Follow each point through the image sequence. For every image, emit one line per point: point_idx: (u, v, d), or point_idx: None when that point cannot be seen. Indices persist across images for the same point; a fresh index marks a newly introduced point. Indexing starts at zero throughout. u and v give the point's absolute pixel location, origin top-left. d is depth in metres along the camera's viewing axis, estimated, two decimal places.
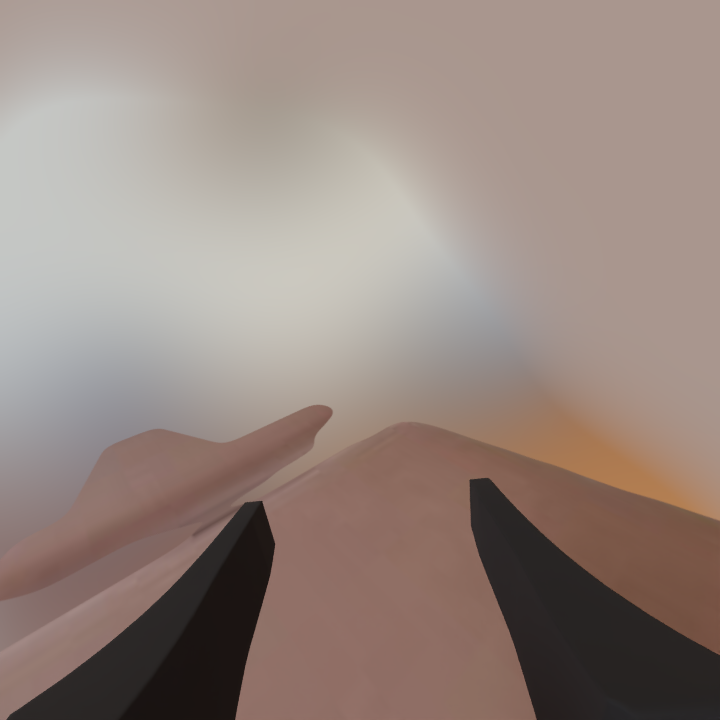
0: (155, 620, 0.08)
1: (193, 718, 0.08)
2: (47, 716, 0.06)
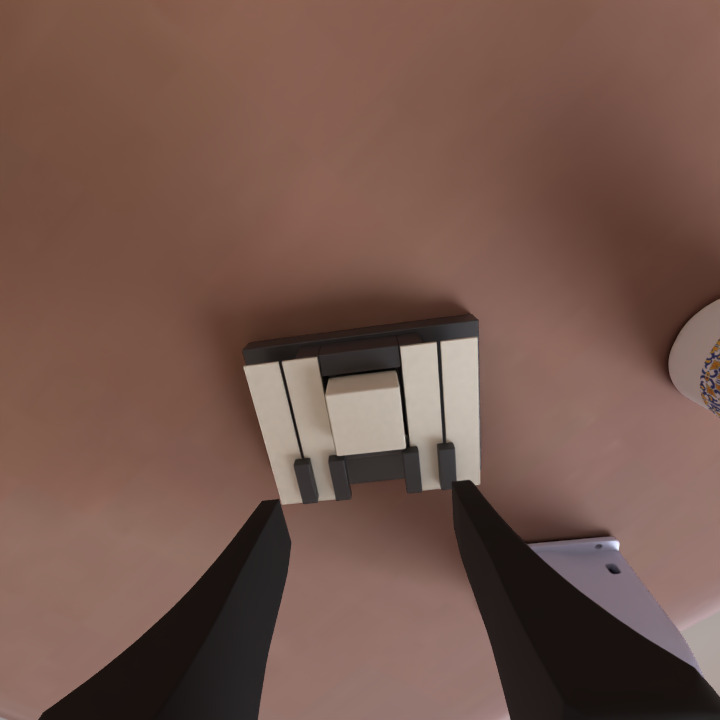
0: (181, 618, 0.08)
1: (221, 716, 0.08)
2: (81, 714, 0.06)
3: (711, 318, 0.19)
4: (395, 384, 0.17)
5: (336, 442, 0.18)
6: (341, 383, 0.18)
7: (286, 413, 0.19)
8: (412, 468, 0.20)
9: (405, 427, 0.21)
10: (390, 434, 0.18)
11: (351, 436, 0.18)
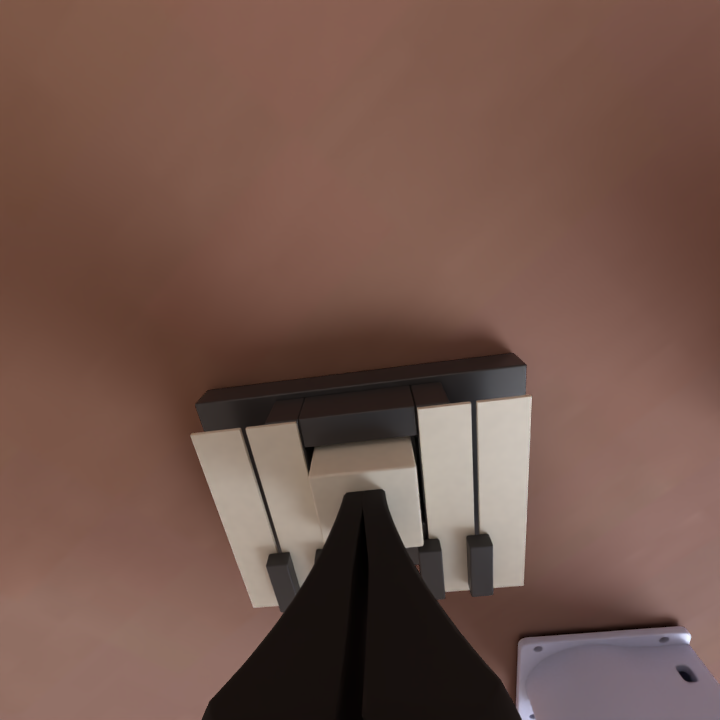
0: (311, 607, 0.08)
1: (358, 707, 0.07)
2: (253, 702, 0.06)
3: None
4: (410, 460, 0.12)
5: (325, 538, 0.13)
6: (332, 454, 0.13)
7: (255, 496, 0.14)
8: (432, 570, 0.14)
9: (421, 508, 0.15)
10: (402, 528, 0.13)
11: None
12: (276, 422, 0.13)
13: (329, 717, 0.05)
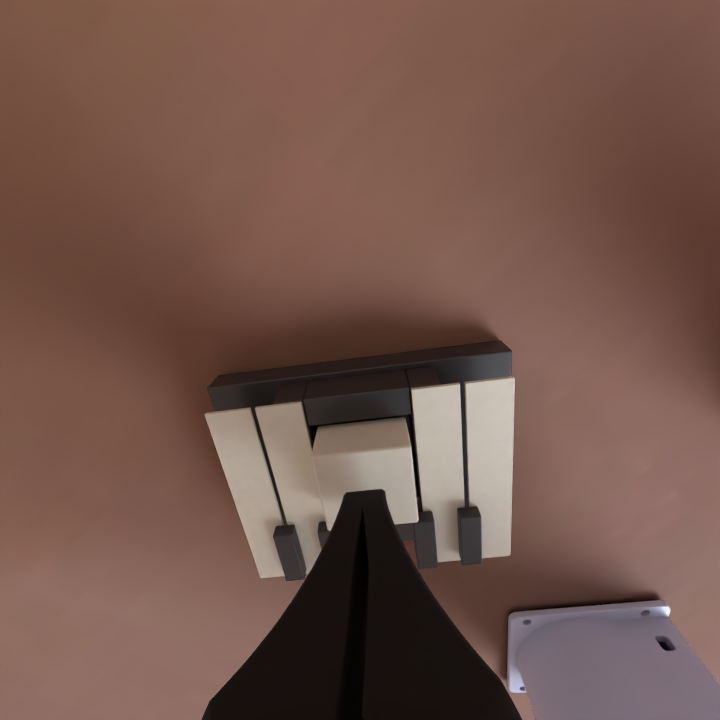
0: (311, 607, 0.08)
1: (359, 707, 0.07)
2: (253, 702, 0.06)
3: None
4: (406, 441, 0.13)
5: (327, 514, 0.14)
6: (333, 437, 0.14)
7: (263, 471, 0.15)
8: (425, 540, 0.15)
9: (416, 484, 0.16)
10: (398, 505, 0.14)
11: None
12: (283, 402, 0.14)
13: (329, 717, 0.05)
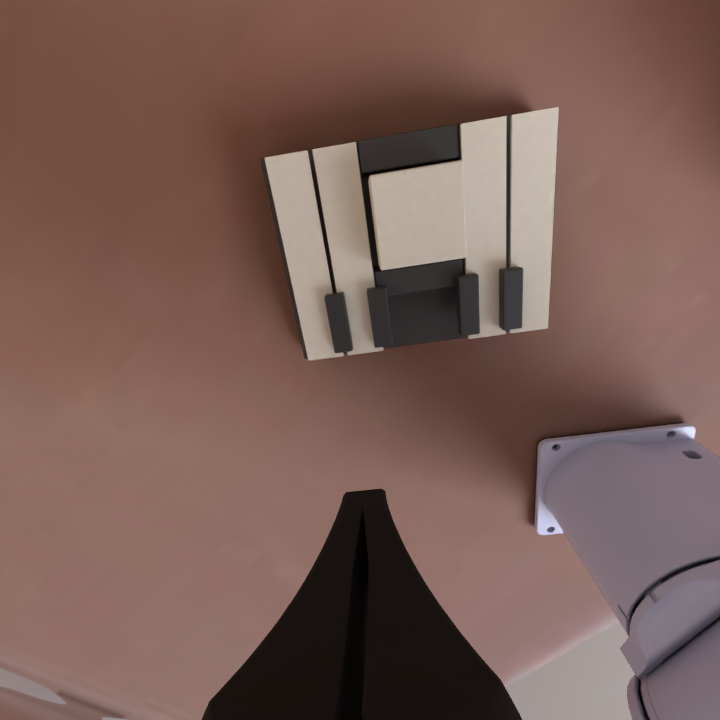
0: (311, 607, 0.08)
1: (359, 707, 0.07)
2: (253, 702, 0.06)
3: None
4: (458, 161, 0.14)
5: (381, 248, 0.15)
6: None
7: (317, 226, 0.16)
8: (469, 298, 0.16)
9: None
10: (448, 235, 0.14)
11: (400, 238, 0.15)
12: None
13: (329, 717, 0.05)
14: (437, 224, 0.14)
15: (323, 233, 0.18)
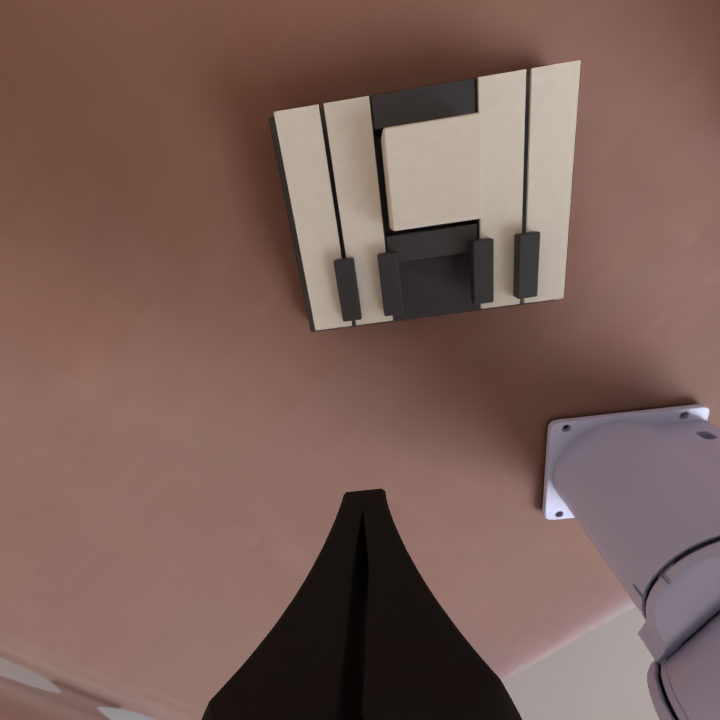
0: (311, 607, 0.08)
1: (359, 707, 0.07)
2: (253, 702, 0.06)
3: None
4: (476, 114, 0.13)
5: (394, 207, 0.14)
6: None
7: (327, 187, 0.15)
8: (484, 264, 0.16)
9: (471, 223, 0.17)
10: (465, 193, 0.14)
11: (414, 197, 0.14)
12: None
13: (329, 717, 0.05)
14: (453, 181, 0.14)
15: None
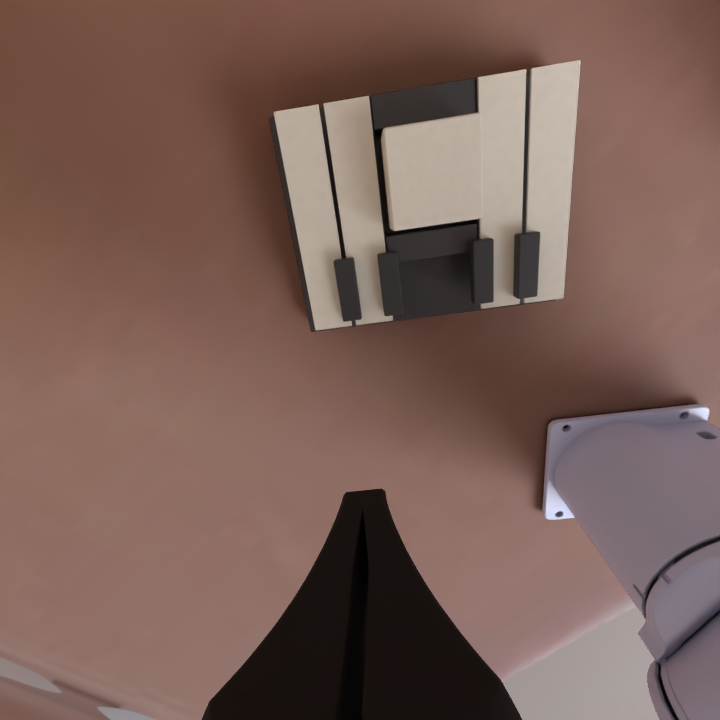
0: (311, 607, 0.08)
1: (359, 707, 0.07)
2: (253, 702, 0.06)
3: None
4: (476, 114, 0.13)
5: (394, 207, 0.14)
6: None
7: (327, 187, 0.15)
8: (484, 264, 0.16)
9: (471, 223, 0.17)
10: (465, 193, 0.14)
11: (414, 197, 0.14)
12: None
13: (329, 717, 0.05)
14: (453, 181, 0.14)
15: None
